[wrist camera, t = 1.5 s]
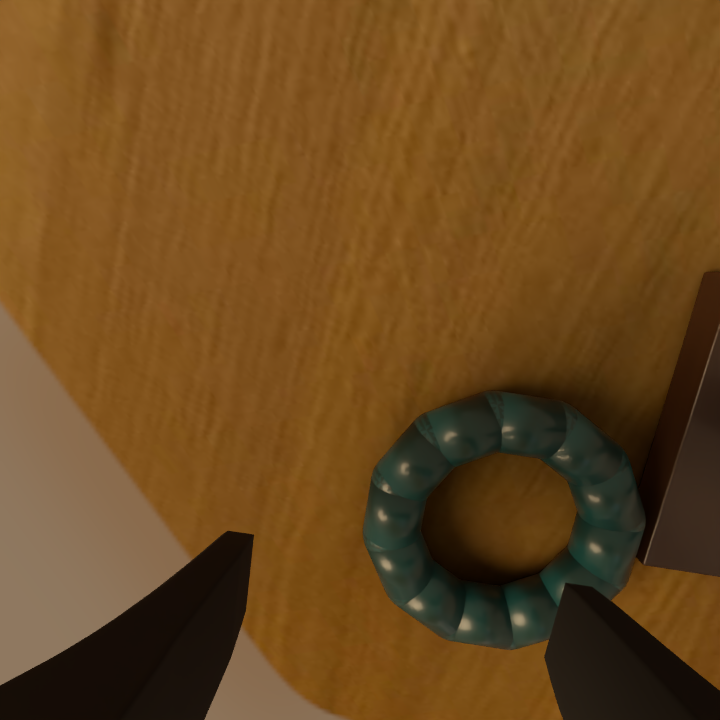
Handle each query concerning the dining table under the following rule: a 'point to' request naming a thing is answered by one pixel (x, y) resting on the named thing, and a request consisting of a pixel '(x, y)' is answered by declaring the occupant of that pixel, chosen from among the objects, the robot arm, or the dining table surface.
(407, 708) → the dining table surface
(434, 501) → the dining table surface
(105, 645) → the robot arm
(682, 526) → the post
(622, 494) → the ring
